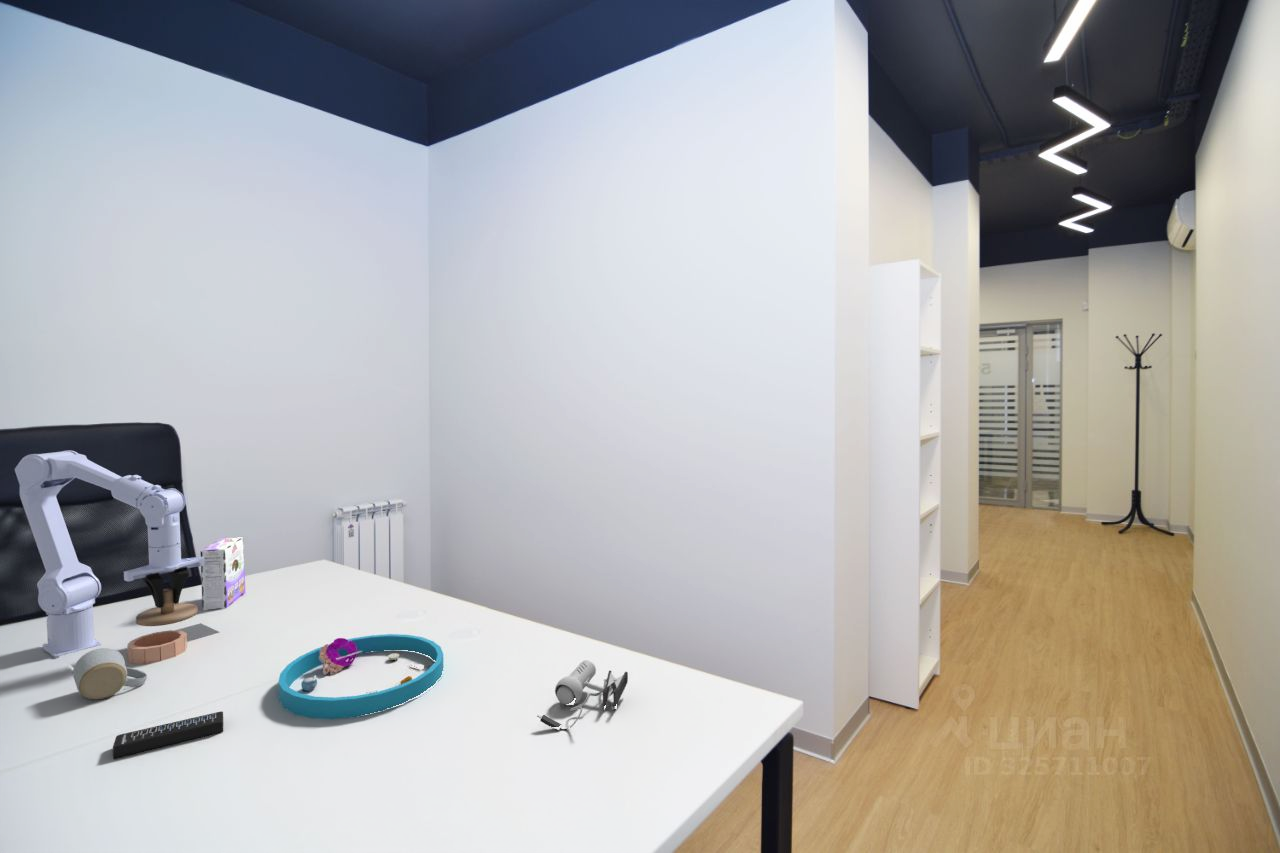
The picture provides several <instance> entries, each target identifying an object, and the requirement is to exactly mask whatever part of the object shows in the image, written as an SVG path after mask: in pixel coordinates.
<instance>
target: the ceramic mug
mask: <svg viewBox="0 0 1280 853" xmlns="http://www.w3.org/2000/svg"><path fill="white" fill-rule="evenodd" d="M72 677H73V679H74V683H75V686H76V689H77V691H78V692H79V694H80V695H82V696H83V697H84V698H86V699H90V700H96V701H98V700H103V699H106V698H110V697H112V696H114V695H115V694H117V693H118V692H119V691H120V690H121V689H122V688H123V687H140V686H143V685H144V684H145V682H146V681H147V679H148V674H147V673H146V672H144V671H143V670H139V669H137V668H133V667H127V666H126V661H125V658H124V656H123V654H121V652H119V651H118V650H116V649H114V648H110V647H109V648H108V647H100V648H96V649H93V650H91V651H90V650H89V651H87V652H86V653H84V654H83V655H82V656H81V657H80V658H79V659H78V660H77V661H76V663H75V665H74V667H73V670H72Z"/></svg>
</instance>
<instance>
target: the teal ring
mask: <svg viewBox="0 0 1280 853" xmlns="http://www.w3.org/2000/svg"><path fill="white" fill-rule="evenodd" d="M384 650H408V651H415V652H419V653H422V654H425V655H428V656H430V657H431V658H432V659H433V660H435V661H436V662H435V663H434V662H433V664H432V665H431V666H429V667H428V668H429V669H427V670H426V671H424V672H423V673H421V674H420V675H418V676H416V677H415V678H413V677H412V676H411V675H408V676H406V677H405V678H403V679H402V680H400V681H398V682H399V683H400V684H399V685H396V686H392V687H390V688H389V687H388V688H386V689H383V690H379V691H378V690H375V691H371V692H370V691H368V692H367V693H364V694H359V695H358V694H357V695H350V696H337V697H333V696H331V697H329V696H314V695H309V694H305V693H300V692H299V691H296V690H294V689H292V688H291V686H292V685H293V683H294V681H296V680H298V679H299V678H300V677H301V676H303V675H304V674H306V673H307V672H309V671H312V670H314V669H315V668H319V666H322V668H323V669H322V672H321V673H322V674H323V675H324V676H326V674H327V675H328V673H329V675H330V674H332V675H336V674H337V673H338V672H341V671H342V670H343V669H344V668H346V666H347V667H349V665H352V664H353V663H354V662H355V659H356V658H357V657H358V656H357V655H361V654H360V653H363V654H367V653H366V652H369V653H372V652H371V651H381V652H385V651H384ZM387 657H388V660H389V661H391V660H395V661H397V660H399V657H400V653H398V652H396V653H390V654H388V655H387ZM396 659H397V660H396ZM410 665H411V666H412V664H410ZM444 666H445V665H444V652H443V650H442V647H441V646H440V645H438V643H437V642H435V641H434V640H431V639H428V638H425V637H421V636H418V635H417V636H416V635H411V634H396V633H395V634H393V633H389V634H387V633H386V634H372V635H366V636H365V635H364V636H360V637H353V638H349V639H348V638H345V637H338V638H336V639H334V640H333V642H331V643H330V644H327V643H326V644H324V645H323V646H320V647H318V648H315V649H313V650H311V651H308V652H306V653H304V654H302V655H300V656H298V657H297V658H296V659H294V660H292V661H291V662H290V663H288V664H287V665H286V666H285V667H284V669H282V671H281V672H280V673H279V678H278V682H277V683H278V700H279V703H280V704H281V706H282V708H283V709H284V710H286V711H288V712H290V713H292V714H293V715H296V716H300V717H305V718H308V719H320V720H321V719H323V720H340V718H341V719H350V717H353V718H358V717H357V716H360V717H362V716H361V715H365V714H370V713H374V712H378V711H383V710H385V709H387V708H391V707H393V706H396V705H399V704H402V703H404V702H406V701H408V700H409V699H412V698H414V697H416V696H418V695H420V694H421V693H423V692H424V691H426V690H427V689H428V688H430V687H431V686H433V685H434V684H435V683H436V681H437V680H438V679H439V678H440V677H441V675H442V676H443V674H442V671H443V672H444V670H443V668H444ZM414 667H415V666H414ZM416 668H417V667H416ZM332 672H335V673H336V674H335V673H332ZM441 678H442V677H441ZM398 682H396V684H398ZM317 685H318V680H317V675H313V677H311V676H310V677H307V678H304V679H303V680H302V681H301V689H302V690H303V691H306V692H310V691H313V690H314V689H315V688H316V687H317ZM383 712H384V711H383ZM370 715H371V714H370ZM365 716H366V715H365Z"/></svg>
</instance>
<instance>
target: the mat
mask: <svg viewBox="0 0 1280 853" xmlns="http://www.w3.org/2000/svg"><path fill="white" fill-rule="evenodd" d="M175 630H176V631H183V632H185V633H187V643H189V642H191V641H195V640H198V639H202V638H206V637H208V636H212V635H215V634H219V633H220V631H218V630H217V629H214V628H212V627H210V626H208V625H206V624H204V623H202V622H201V623H200V622H199V623H197V624H193V625H189V626H186V627H182V628H178V629H175Z"/></svg>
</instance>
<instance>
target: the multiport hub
mask: <svg viewBox="0 0 1280 853" xmlns="http://www.w3.org/2000/svg"><path fill="white" fill-rule="evenodd" d="M222 733H224V711H217V712H212V713H208V714H204V715H200V716H195V717H191V718H186V719H182V720H177V721H174V722H170V723H164V724H160V725H156V726H151V727H147V728H146V727H145V728H143V729H139V730H134V731H129V732H126V733H122V734H118V735H116V736H115V739H114V742H113V746H112V759H113V760H118V759H122V758H123V759H124V758H125V757H131V756H134V755H138V754H142V753H146V752H151V751H155V750H159V749H163V748H167V747H170V746H174V745H179V744H184V743H187V742H192V741H195V740H200V739H203V738H207V737H211V736H215V735H219V734H222Z"/></svg>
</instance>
